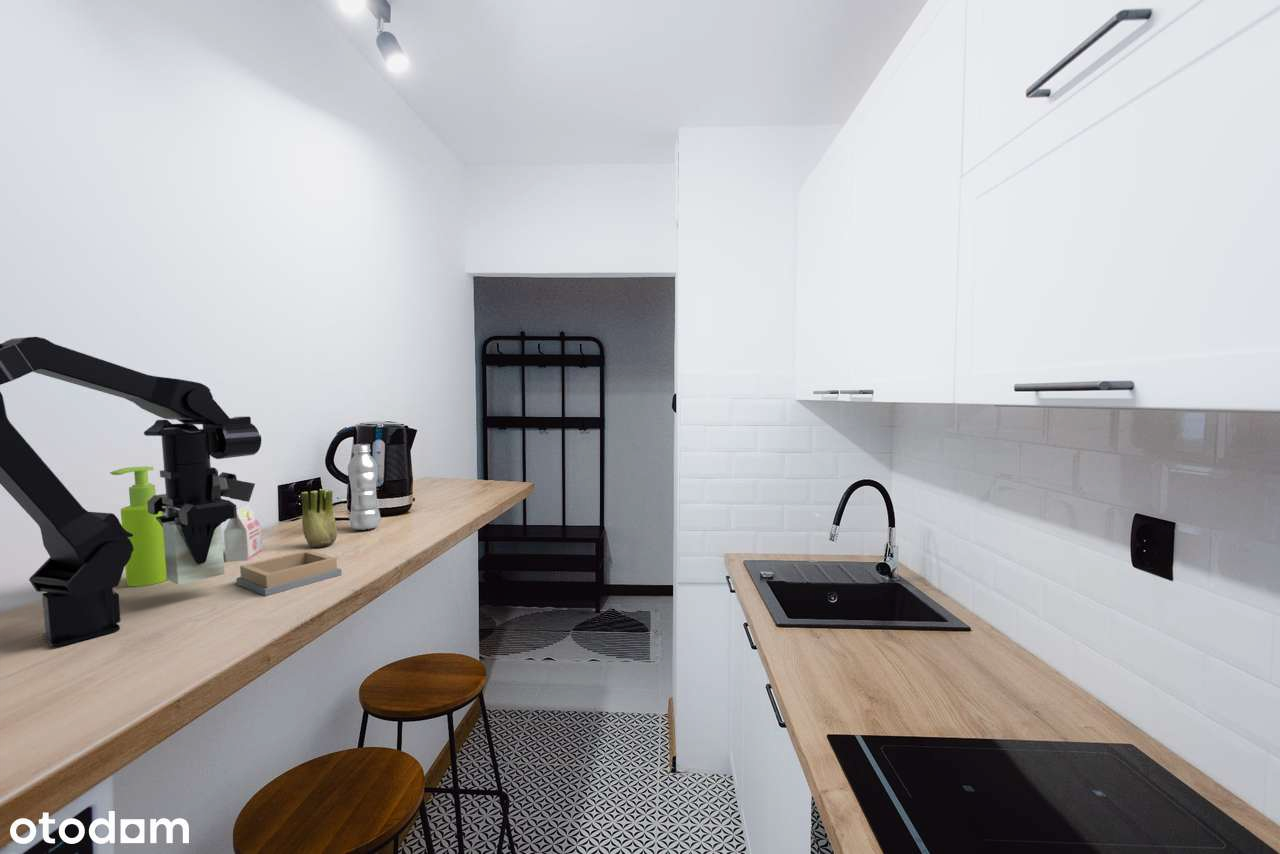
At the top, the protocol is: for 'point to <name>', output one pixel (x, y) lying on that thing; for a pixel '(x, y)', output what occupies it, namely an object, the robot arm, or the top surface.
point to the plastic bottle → (363, 489)
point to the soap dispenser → (143, 532)
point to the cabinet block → (190, 556)
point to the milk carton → (242, 535)
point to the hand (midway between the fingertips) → (194, 560)
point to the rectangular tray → (287, 572)
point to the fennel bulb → (318, 518)
